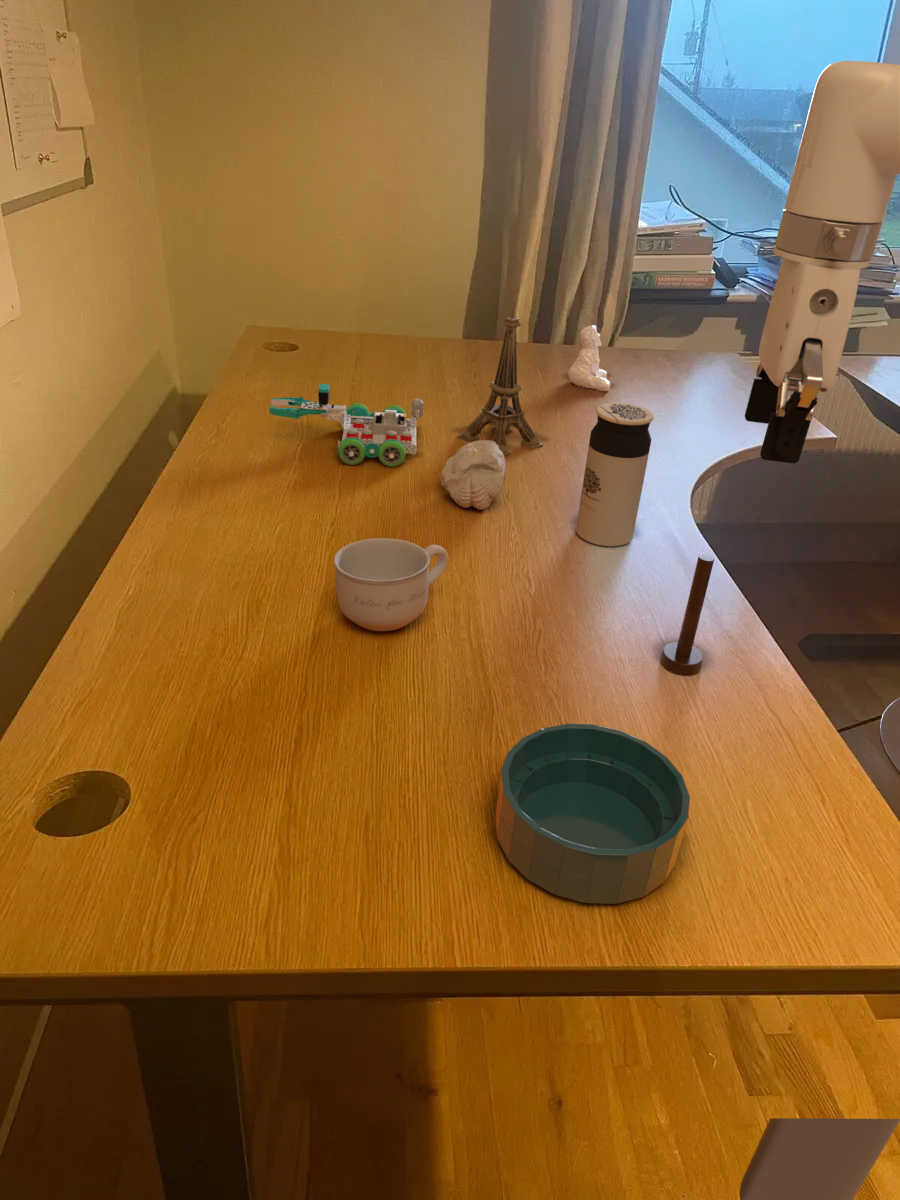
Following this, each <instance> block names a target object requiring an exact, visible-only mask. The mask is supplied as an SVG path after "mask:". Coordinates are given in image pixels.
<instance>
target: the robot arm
mask: <svg viewBox="0 0 900 1200" xmlns="http://www.w3.org/2000/svg"><path fill="white" fill-rule="evenodd" d="M799 144H800V145H799V147H798V152H797V156H796V161H795V164H794V168H793V172H792V177H791V181H790V184H789V188H788V192H787V196H786V200H785V204H784V208H783V212H782V216H781V220H780V224H779V228H778V232H777V236H776V240H775V244H774V246H773V247H774V248H773V251H772V254H773V255H775V256H776V257H780V258H781V259H783V260H782V262H781V266H780V268H779V271H778V274H777V275H778V276H777V279H776V281H775V285H774V288H773V293H772V295H771V299H770V303H769V307H768V309H767V313H766V317H765V321H764V325H763V329H762V333H761V338H760V343H759V348H758V359H759V364H758V365H757V368H756V374H755V376H756V378H753V382H752V386H751V390H750V393H749V397H748V401H747V405H746V409H745V412H744V419H745V421H747V422H750V423H758V424H765V425H766V424H767V426H766V430H765V435H764V438H763V442H762V445H761V449H760V453H759V454H760V455H759V456H760V458H761V459H762V460H763V461H770V462H778V463H779V462H780V463H785V464H786V463H787V464H798V462H799V461H800V458H801V455H802V451H803V449H804V446H805V443H806V439H807V435H808V432H809V428H810V425H811V422H812V420H813V417H814V413H815V406H817V404H818V399H819V398H818V397H817V396H818V394H819V392H821V393H827V392H829V391H830V390H831V389H832V388H833V387H834V385H835V382H836V377H837V375H838V372H839V371H838V370H839V367H840V362H841V360H842V355H843V352H844V348H845V343H846V340H847V337H848V333H849V328H850V324H851V322H852V321H851V320H852V317H853V312H854V308H855V304H856V298H857V292H858V288H859V283H860V281H859V280H860V275H861V269H867V268H868V267H870V264H871V260H872V257H873V254H874V251H875V247H876V243H877V241H878V237H879V234H880V232H881V231H880V230H881V228H882V224H883V221H884V218H885V216H886V212H887V210H888V209H887V208H888V205H889V202H890V198H891V196H892V192H893V189H894V186H895V183H896V179H897V177H898V174H899V175H900V64H894V63H889V62H877V61H864V60H863V61H861V60H860V61H859V60H842V61H841V60H840V61H836V62H832V63H830V64H829V65H827V66H826V67H825V68H824V69H823V70H822V71H821V72H820V75H819V76H818V78H817V80H816V83H815V86H814V90H813V93H812V97H811V102H810V105H809V109H808V113H807V117H806V121H805V124H804V128H803V133H802V137H801V140H800V143H799ZM789 392H793V393H792V394H790V397H789Z"/></svg>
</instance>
